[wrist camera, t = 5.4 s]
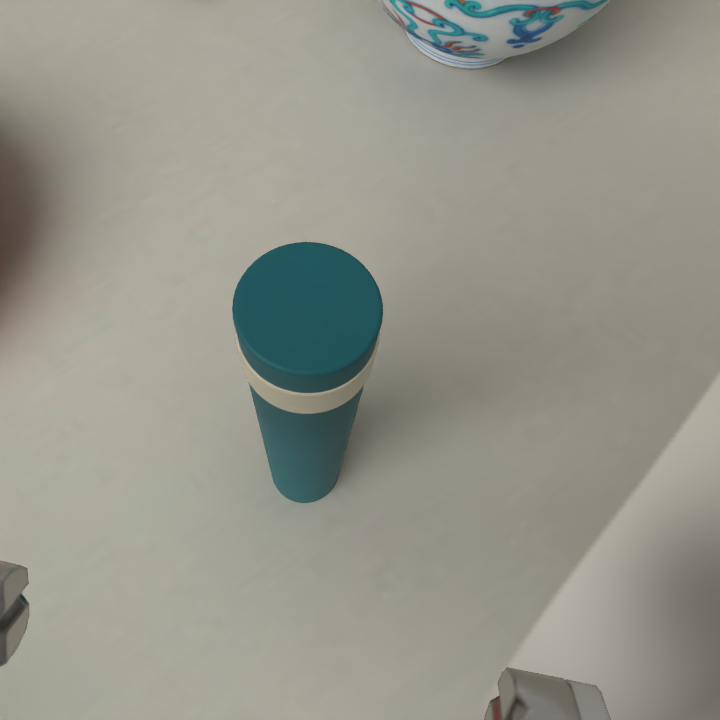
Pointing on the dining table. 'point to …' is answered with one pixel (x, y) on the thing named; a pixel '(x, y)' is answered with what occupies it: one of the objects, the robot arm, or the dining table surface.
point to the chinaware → (487, 26)
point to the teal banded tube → (306, 357)
